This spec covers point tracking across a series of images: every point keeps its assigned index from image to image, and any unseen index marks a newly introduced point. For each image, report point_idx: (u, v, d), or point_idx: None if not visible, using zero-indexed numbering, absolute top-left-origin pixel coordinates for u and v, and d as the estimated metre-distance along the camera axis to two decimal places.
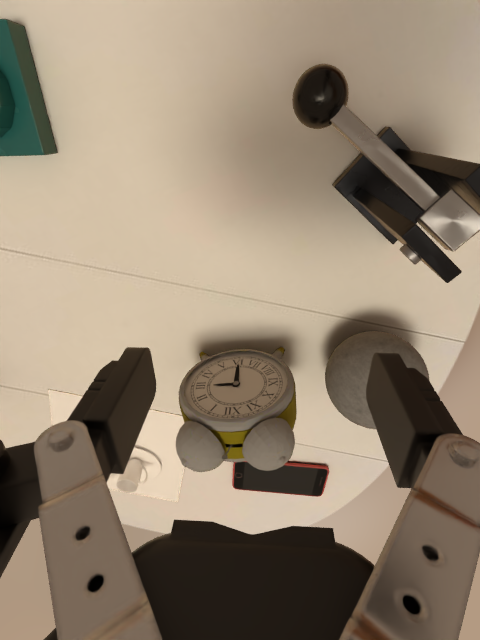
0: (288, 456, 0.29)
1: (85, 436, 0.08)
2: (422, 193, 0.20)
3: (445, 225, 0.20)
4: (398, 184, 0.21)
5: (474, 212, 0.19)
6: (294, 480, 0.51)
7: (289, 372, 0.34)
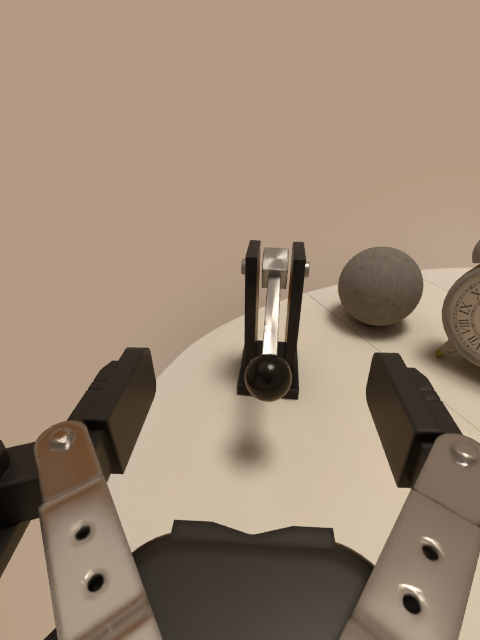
0: None
1: (85, 436, 0.08)
2: (273, 283, 0.29)
3: (280, 258, 0.30)
4: (279, 295, 0.28)
5: (264, 254, 0.30)
6: None
7: (443, 309, 0.36)
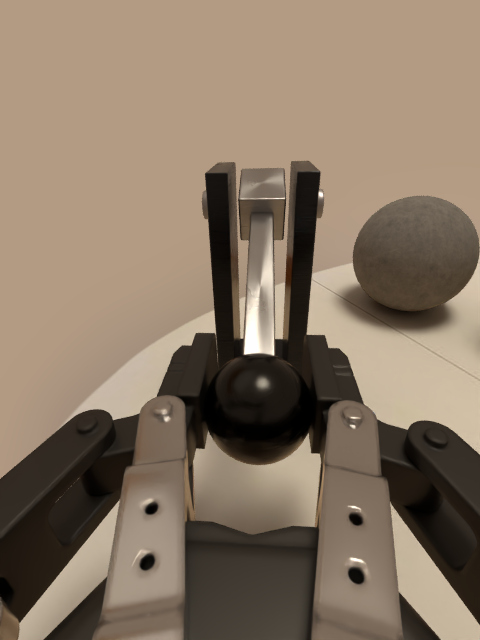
0: None
1: (184, 409, 0.09)
2: (261, 224, 0.16)
3: (271, 183, 0.17)
4: (272, 243, 0.15)
5: (242, 178, 0.17)
6: None
7: None
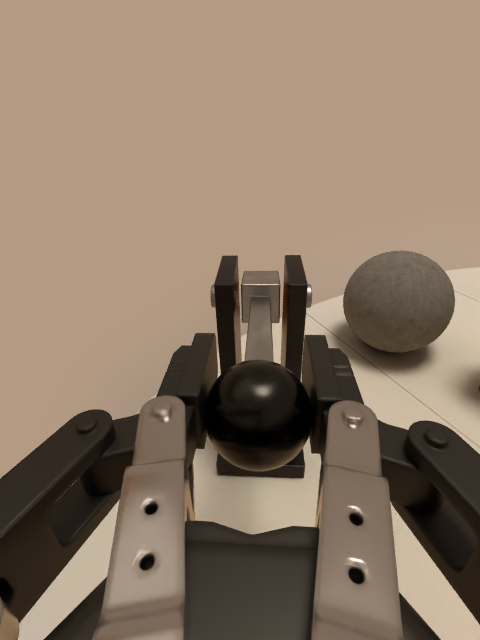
0: None
1: (184, 409, 0.09)
2: (260, 301, 0.19)
3: (268, 277, 0.20)
4: (269, 311, 0.17)
5: (244, 275, 0.21)
6: None
7: None
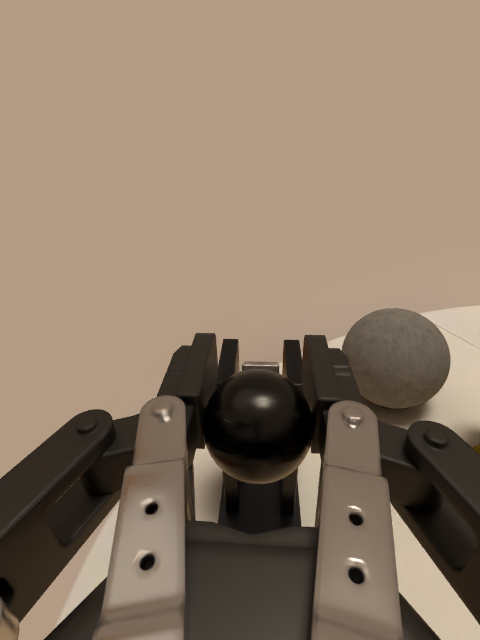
0: None
1: (184, 409, 0.09)
2: None
3: (267, 363, 0.22)
4: None
5: (245, 362, 0.22)
6: None
7: None
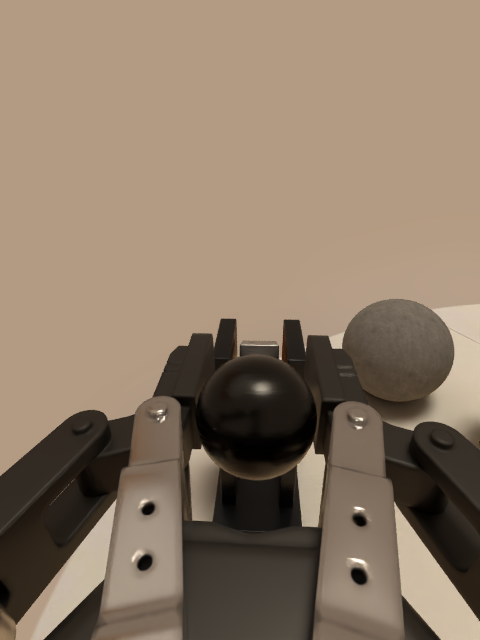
0: None
1: (180, 409, 0.09)
2: None
3: (266, 342, 0.21)
4: None
5: (243, 342, 0.21)
6: None
7: None
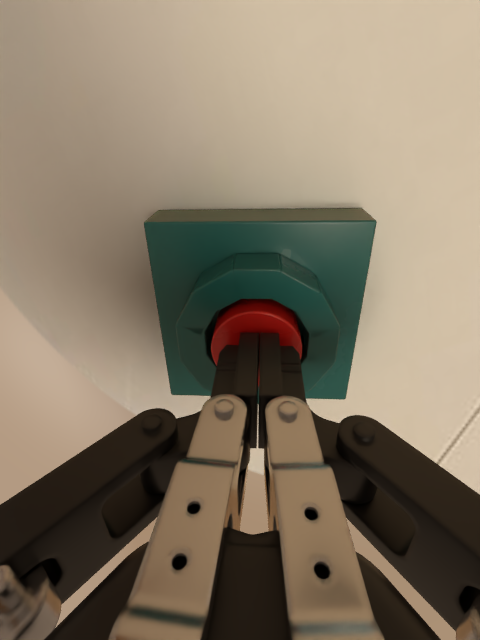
0: None
1: (246, 408, 0.09)
2: None
3: None
4: None
5: None
6: None
7: None
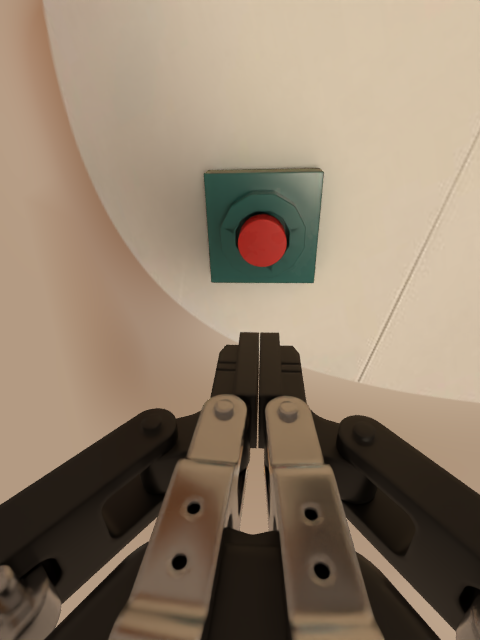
0: None
1: (246, 408, 0.09)
2: None
3: None
4: None
5: None
6: None
7: None
